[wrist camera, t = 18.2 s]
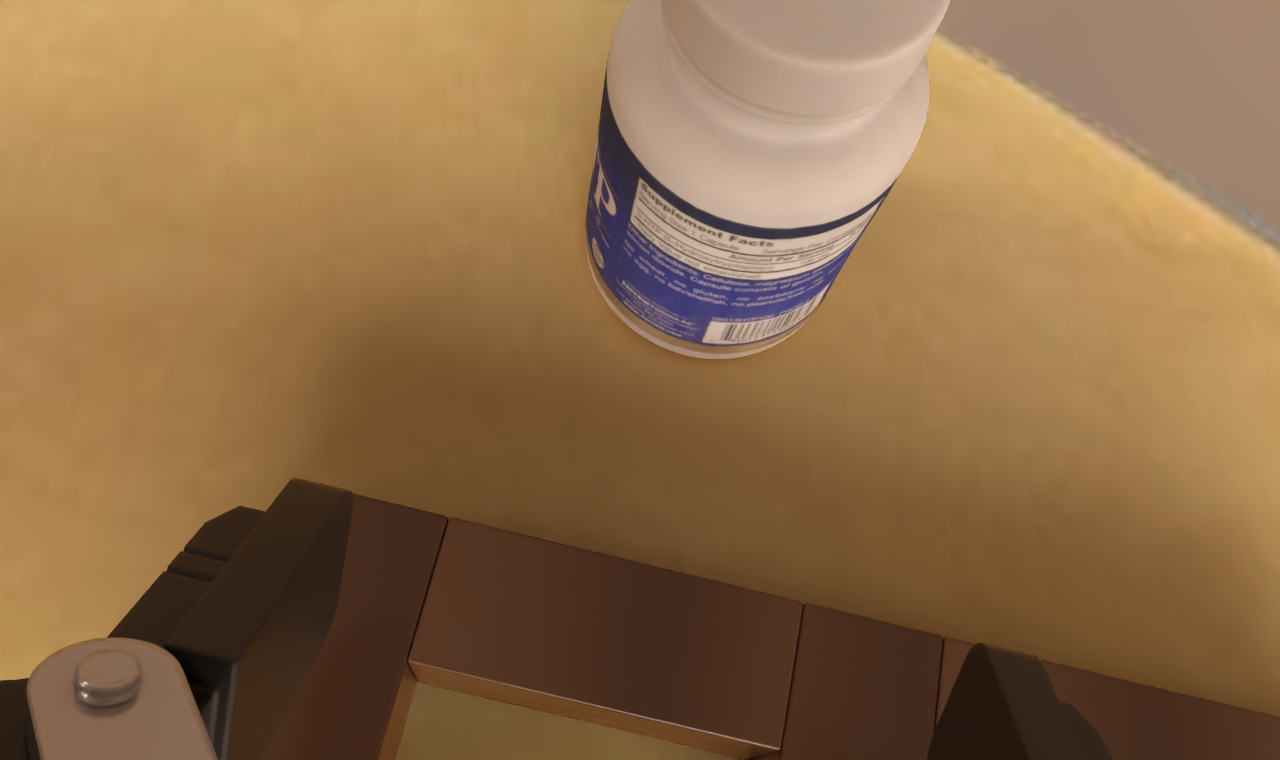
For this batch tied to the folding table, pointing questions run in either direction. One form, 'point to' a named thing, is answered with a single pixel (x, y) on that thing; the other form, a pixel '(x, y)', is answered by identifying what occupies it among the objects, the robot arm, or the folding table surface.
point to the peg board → (664, 658)
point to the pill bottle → (747, 159)
